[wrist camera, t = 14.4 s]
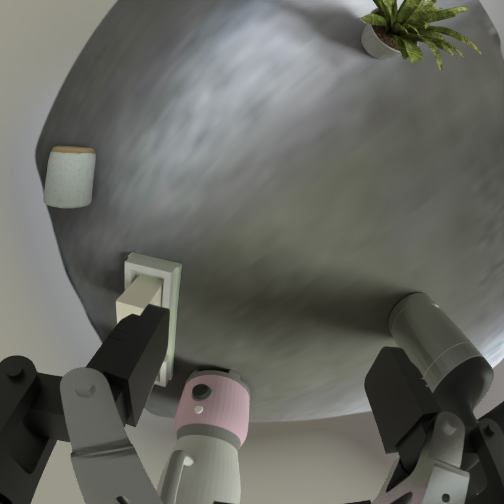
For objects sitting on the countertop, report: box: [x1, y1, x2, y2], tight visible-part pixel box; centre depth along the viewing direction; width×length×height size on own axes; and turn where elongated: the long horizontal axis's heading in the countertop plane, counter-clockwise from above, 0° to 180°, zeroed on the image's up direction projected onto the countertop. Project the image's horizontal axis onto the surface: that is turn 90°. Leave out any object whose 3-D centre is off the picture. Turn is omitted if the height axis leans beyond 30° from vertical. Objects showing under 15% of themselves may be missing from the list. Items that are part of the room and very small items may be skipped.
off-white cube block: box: [116, 275, 164, 324], centre depth 36 cm, size 6×6×8 cm
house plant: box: [358, 0, 483, 72], centre depth 20 cm, size 14×14×16 cm
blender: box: [156, 369, 250, 504], centre depth 32 cm, size 16×12×32 cm
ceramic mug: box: [44, 146, 96, 208], centre depth 31 cm, size 11×8×8 cm
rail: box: [125, 252, 182, 400], centre depth 38 cm, size 8×23×10 cm, turn 168°
